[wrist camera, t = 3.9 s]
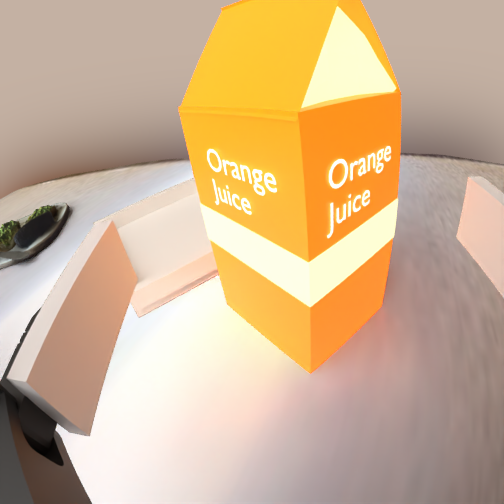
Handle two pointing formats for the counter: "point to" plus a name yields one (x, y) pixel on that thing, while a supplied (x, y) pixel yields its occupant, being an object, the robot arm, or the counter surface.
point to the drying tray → (165, 245)
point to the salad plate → (31, 233)
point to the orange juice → (297, 167)
